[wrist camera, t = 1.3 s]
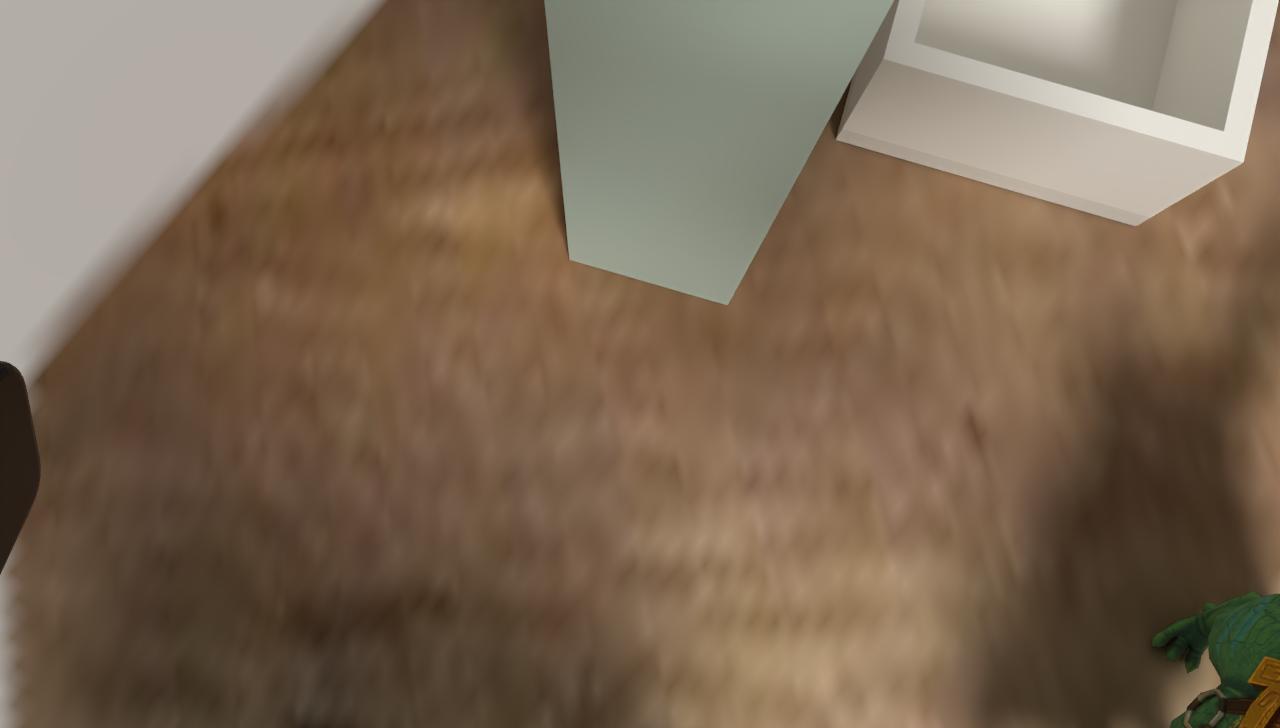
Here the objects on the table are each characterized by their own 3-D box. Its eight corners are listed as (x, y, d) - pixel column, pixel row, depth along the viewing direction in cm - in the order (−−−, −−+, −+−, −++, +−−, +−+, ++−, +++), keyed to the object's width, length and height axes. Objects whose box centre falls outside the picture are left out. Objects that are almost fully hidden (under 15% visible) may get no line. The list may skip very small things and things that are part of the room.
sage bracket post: (727, 305, 22) (948, -100, 8) (569, 259, 22) (522, -222, 8) (770, 153, 22) (1048, -474, 9) (615, 108, 22) (644, -588, 9)
